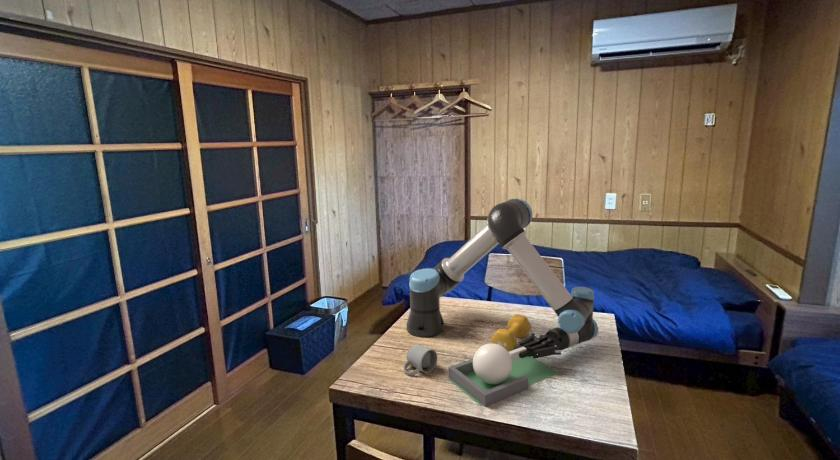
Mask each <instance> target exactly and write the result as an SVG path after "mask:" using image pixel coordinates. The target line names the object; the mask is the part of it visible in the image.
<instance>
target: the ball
mask: <svg viewBox="0 0 840 460" xmlns="http://www.w3.org/2000/svg"><path fill="white" fill-rule="evenodd" d="M472 359H473V369H474V371H475V373H476V375H477V376H478V378H479V379H480V380H482V381H483V382H485V383H488V384H499V383H502V382H504V381H505V380H506V379H507V378H508V377H509V375H510V374H511V371H512V359H511V356H510V354H509V353H508V351H507V350H506V349H505V348H504V347H502V346H500V345H498V344H493V343H492V342H490V343H485V344H483V345H481V346H480V347H479V348H478V349H476V351H475V353H474V355H473V358H472Z"/></svg>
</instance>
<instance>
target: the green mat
mask: <svg viewBox="0 0 840 460" xmlns="http://www.w3.org/2000/svg"><path fill="white" fill-rule="evenodd" d="M558 374H560V371H558V370H557V369H555V368H552V366H549V365H547V364H546V363H544V362H542V361H541V360H539V359H538V358H536V359H534V358H533V356H531V357H528V356H527V357H524V358H520V359H517V360H515V361H512V371H511V374H510V375H509V377H508V378H507V379H506V380H505V381H504V382H502V383H499V384H488V383H485V382H483V381H482V380H480V379H479V378H478V376H477V375H476V373H475V371H474V372H471V373H468V374H465V376H466V377H468V378H469V379H470V380H472V381H473V382H474V383H476V384H477V385H478V386H480V387H481V388H482V389H484V390H485V391H487V390H490V389H492V388H495V387H497V386H500V385H502V384H505V383H507V382H510V381H513V380H515V379H518V378H520V377H523V376H526V377H528V387H529V386H531V385H534V384H536V383H539V382H541V381H544V380H546V379H548V378H549V379H550V378H551V377H553V376H555V375H558ZM448 381H449V382H450V383H452V384H453V385H454V386H455V387H456V388H458V389H459V390H460V391H462V392H463V393H464V394H465V395H466V396H468V397H469V398H470V399H472V400H473V401H474V402H475V403H476V404H478V405H479V406H480V407H481V406H483V405H482V404H481V403H480V402H479V401H477V400H476V399H475V398H474V397H472V396H471V395H470V394H469V393H467V392H466V391H465V390H464V389H462V388H461V387H460V386H459V385H457V384H456V383H455V382H454V381H452V380H451V379H450V378H448Z"/></svg>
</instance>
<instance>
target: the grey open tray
mask: <svg viewBox="0 0 840 460" xmlns="http://www.w3.org/2000/svg"><path fill="white" fill-rule="evenodd" d="M447 368H448V379H451V380H452V381H454V382H455V383H456V384H457V385H459V386H460V387H461V388H462V389H464V390H465V391H466V392H467V393H469V394H470V395H471V396H472V397H474V398H475V399H476V400H477V401H479V402H480V403H481V404H482V405H481V406H484V407H487V406H490V405H492V404H494V403H497V402H500V401H502V400H504V399H506V398H509V397H511V396H514V395H516V394H517V393H519V394H520V393H521V392H523V391H526V390H528V389H529V386H528V377H526V376H523V377H520V378H518V379H515V380H513V381H510V382H507V383H505V384H502V385H500V386H497V387H495V388H492V389H490V390H487V391H485V390H484V389H482V388H481V387H480V386H478V385H477V384H476V383H474V382H473V381H472V380H470V379H469V378H468V377H466V376H465V374H468V373H471V372H474V369H473V358H471V359H468V360H466V361H462V362H460V363H457V364H454V365H451V366H448V367H447Z"/></svg>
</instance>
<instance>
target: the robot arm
mask: <svg viewBox="0 0 840 460" xmlns="http://www.w3.org/2000/svg"><path fill="white" fill-rule="evenodd" d="M532 220H533V210H532V208H531V205H530V204H529V203H528V202H527V201H526V200H524V199H522V198H510V199H508V200H506V201H504V202H500V203H497V204H496V205H494V206H493V207H492V208H491V209H490V211H489V213H488V217H487V219H486V221H487V222H486V224H485V225H484V226H483V227H482V228H481V229H480V230H479V231H478V232H476V234H474V235H473V236H472V237H470V239H469V240H468V241H467V242H466V243H465V244H463V246H461V247H460V248H459V249H458V250H457V251H456V252H455V253H454V254H452V255H451V256H450V257H444V258H443V259H442V260H441V261H439V263H437V264H436V266H434V267H433V268H430V267H429V268H428V267H427V268H422V269H416V270H415V271H412V273H411V274H410V276H409V283H408V286H409V303H410V304H409V305H410V308H409V309H410V311H409V315H408V317H407V321H406V331H407V332H408V333H409V335H412V336H415V337H423V338H426V337H427V338H429V337H434V336H438V335H441V334H442V333H443V332H444V331H445V321H444V318H443V316H442V313H441V310H440V309H441V308H440V302H441V301H440V300H441V299H440V298H442V297H443V296H445V295H446V294H448V293H450V292H451V291H454V290H455V289H456V288H457V287H458V286H459V284H460V283H461V282H462V281H463V280H464V279H465V273H467V272H468V271H470V269H471V268H473V267H474V266H475V265H476V264H478V263H479V262H480V261H481V260H482V259H483V258H485V257H486V256H487V255H488V254H489V253H490V252H491V251H492V250H493V249H495V248H496V247H497V246H498V245H499V246H500V248H502V249H503V250H507V251H508V253H509V254H510V255H511V257H512V258H513V259H514V260H515V262H516V263H517V264H518V265H519V267H520V268H521V269H522V271H523V272H524V274H526V276H527V277H528V279H529V280H530V281H531V283H532V284H533V286H535V288H536V289H537V290H538V292H539V293H540V294H541V296H542V297H543V299H544V300H545V301H546V302H547V303H548V305H549V306H550V308H551V309H552V310H553V312H554V313H555V315H557V323H558V327H554V328H551V329H549V330H548V331H546V333H545V334H540V335H536V333H535V332H532V333H531V334H530V336H528V337H526V338H523V340H521V341H520V342H519V343H518V347H515V348H514V350H512V351H509V352H508V353H509V354H510V356H511V359H512V361H515V360H517V359H520V358H524V357H527V356H528V357H531V356H532V357H533V358H534V359H539V358H546V357H550V356H561V355H562V351H564V350H566V349H569V348H571V347H574V346H576V345H579V344H581V343H585V342H587V341H590V340H592V339H593V338H595V337H597V336H598V334H599V326H598V323H597V321H596V320H594V318H593V317H594V316H593V315H594V303H595V292H594V290H593V289H591V288H590V287H587V286H586V287H585V286H576V287H573V288H572V289H571V293H570V292H569V291H568V289H567V288H566V287H565V286H564V284H563V283H562V282H561V280H560V279H559V277H558V276H557V275H556V274H555V272H554V271H553V270H552V268H551V267H550V266H549V265H548V264H547V262H546V261H545V260H544V258H543V257H542V256H541V255H540V253H539V251H538V250H537V248H535V246H534V245H533V244H532V243H531V241H530V240H529V239H528V237H526V233H527V232H526V230H525V228H527V227H528V226H529V225H530V223H531V222H532Z"/></svg>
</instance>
